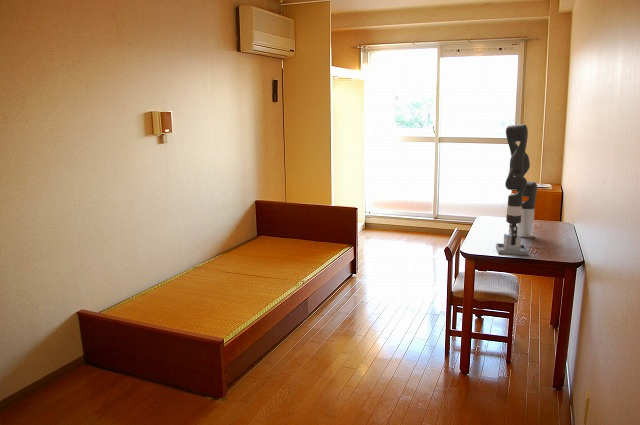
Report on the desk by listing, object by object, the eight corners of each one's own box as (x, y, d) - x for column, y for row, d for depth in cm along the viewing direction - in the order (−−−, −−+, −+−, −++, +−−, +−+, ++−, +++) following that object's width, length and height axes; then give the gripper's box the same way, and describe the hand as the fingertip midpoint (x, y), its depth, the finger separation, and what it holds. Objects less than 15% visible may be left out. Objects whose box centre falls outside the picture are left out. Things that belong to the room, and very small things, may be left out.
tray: (495, 247, 295) (496, 243, 294) (524, 248, 291) (524, 244, 291) (498, 254, 281) (498, 250, 280) (528, 255, 277) (528, 251, 277)
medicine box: (517, 249, 288) (518, 233, 286) (520, 251, 284) (521, 235, 282) (503, 249, 288) (503, 233, 287) (505, 251, 284) (506, 235, 282)
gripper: (505, 211, 290) (503, 239, 293) (508, 216, 276) (506, 246, 279) (519, 211, 288) (517, 240, 291) (523, 216, 274) (521, 246, 278)
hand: (512, 243), depth 285 cm, fingers open, 8 cm apart
